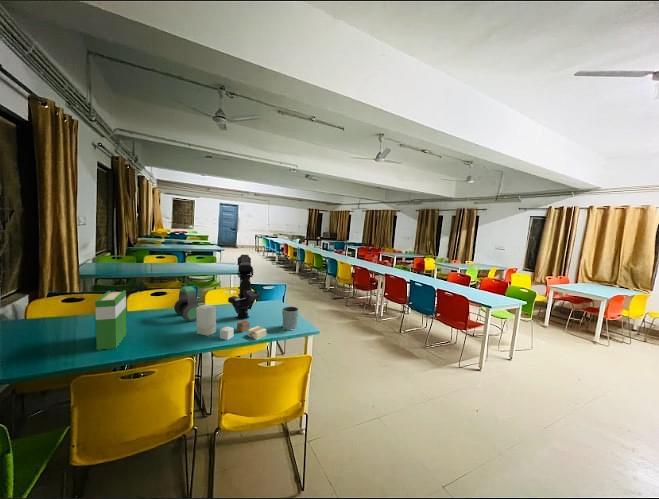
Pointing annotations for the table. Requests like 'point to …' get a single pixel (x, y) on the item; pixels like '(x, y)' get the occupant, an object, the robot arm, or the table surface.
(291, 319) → the grey cup
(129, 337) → the table surface
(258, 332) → the maple block
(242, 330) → the walnut cube
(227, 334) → the grey cube
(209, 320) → the skincare box
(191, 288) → the headphones
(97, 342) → the hardback book
